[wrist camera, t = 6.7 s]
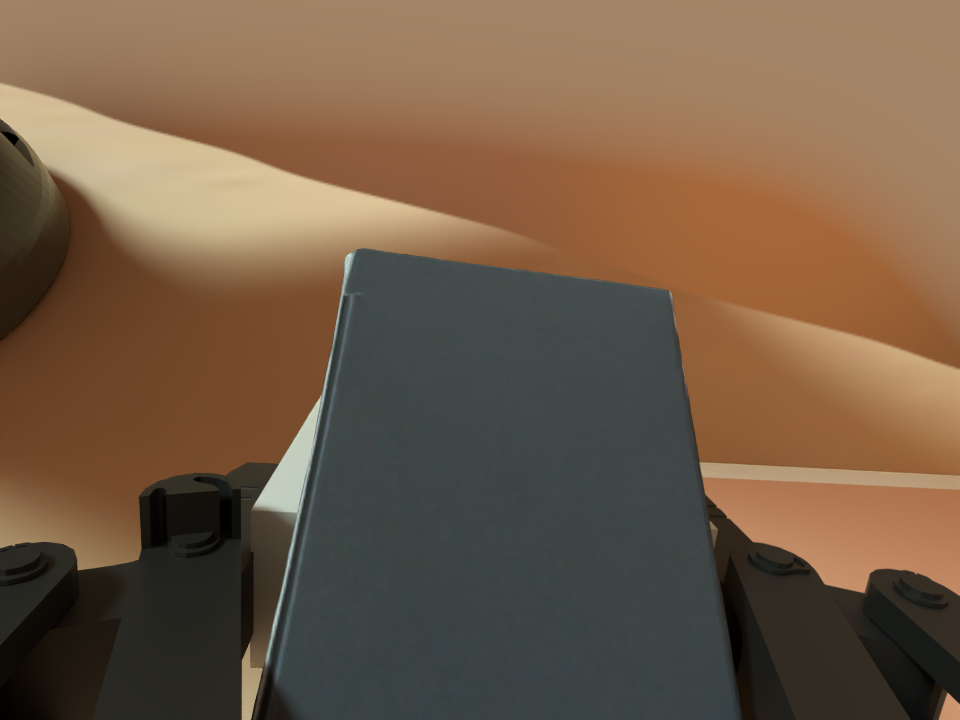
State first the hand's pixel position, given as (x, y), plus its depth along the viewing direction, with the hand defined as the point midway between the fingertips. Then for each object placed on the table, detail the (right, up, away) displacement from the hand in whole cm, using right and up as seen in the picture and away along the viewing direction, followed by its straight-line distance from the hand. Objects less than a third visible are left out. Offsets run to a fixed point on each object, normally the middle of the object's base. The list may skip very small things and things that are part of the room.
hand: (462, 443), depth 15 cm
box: (-1, -5, +1) cm, 5 cm away
